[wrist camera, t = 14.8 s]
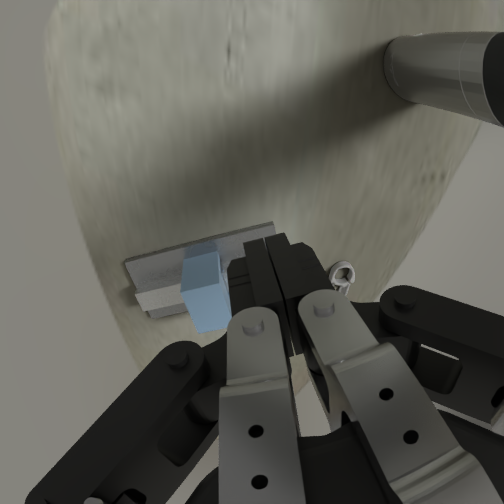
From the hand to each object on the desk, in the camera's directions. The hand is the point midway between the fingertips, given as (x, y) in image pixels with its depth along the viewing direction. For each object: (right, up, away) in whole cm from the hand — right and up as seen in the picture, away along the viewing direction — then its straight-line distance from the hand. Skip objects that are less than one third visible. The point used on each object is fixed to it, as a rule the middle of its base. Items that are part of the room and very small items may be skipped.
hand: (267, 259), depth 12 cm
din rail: (-7, -2, +32) cm, 33 cm away
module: (-6, -3, +31) cm, 32 cm away
